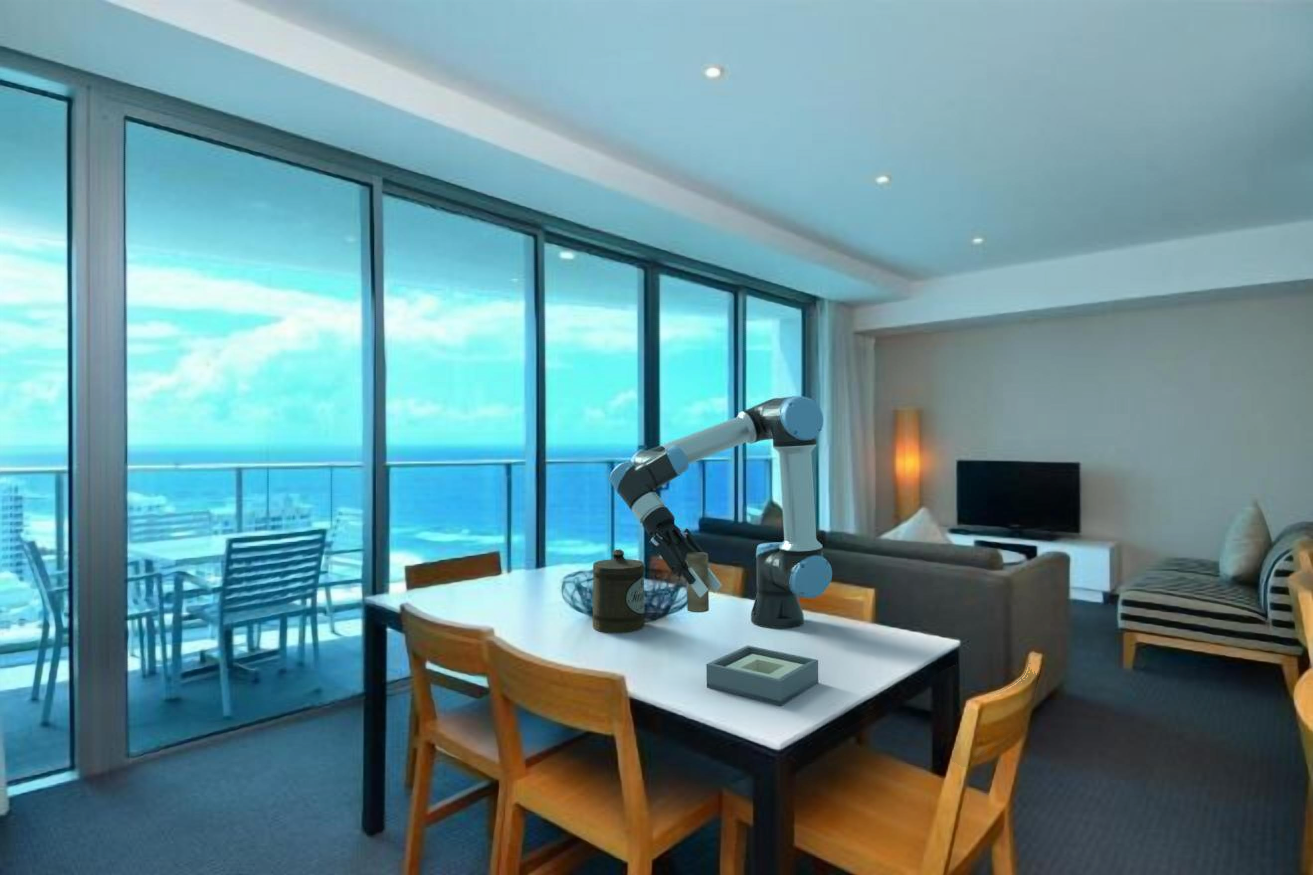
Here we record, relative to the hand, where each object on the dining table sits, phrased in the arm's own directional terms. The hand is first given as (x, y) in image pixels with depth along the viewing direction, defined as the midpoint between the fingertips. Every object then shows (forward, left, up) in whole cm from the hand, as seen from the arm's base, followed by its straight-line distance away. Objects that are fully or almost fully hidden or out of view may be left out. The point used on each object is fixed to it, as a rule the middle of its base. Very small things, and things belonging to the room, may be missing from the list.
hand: (711, 591), depth 164 cm
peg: (0, -4, -5) cm, 6 cm away
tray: (0, +13, -19) cm, 23 cm away
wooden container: (-17, -44, -19) cm, 51 cm away
